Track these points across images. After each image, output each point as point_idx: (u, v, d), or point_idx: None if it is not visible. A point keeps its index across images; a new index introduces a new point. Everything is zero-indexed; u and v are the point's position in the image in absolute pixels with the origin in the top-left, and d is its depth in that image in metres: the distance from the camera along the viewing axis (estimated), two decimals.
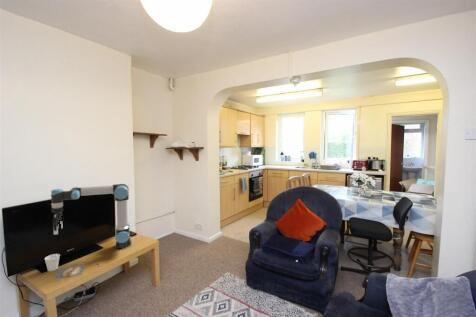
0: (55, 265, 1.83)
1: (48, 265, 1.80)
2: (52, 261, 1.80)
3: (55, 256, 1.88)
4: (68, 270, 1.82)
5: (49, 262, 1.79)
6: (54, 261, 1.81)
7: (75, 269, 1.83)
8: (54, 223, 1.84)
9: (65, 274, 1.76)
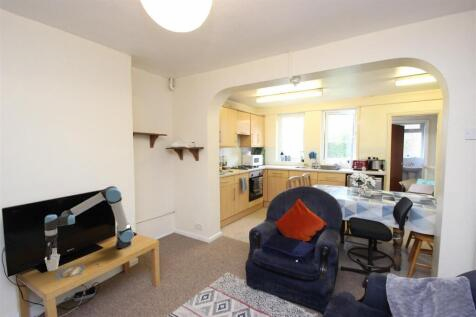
0: (55, 265, 1.83)
1: (48, 265, 1.80)
2: (52, 261, 1.80)
3: (55, 256, 1.88)
4: (68, 270, 1.82)
5: None
6: (54, 261, 1.81)
7: (75, 269, 1.83)
8: (47, 252, 1.74)
9: (65, 274, 1.76)
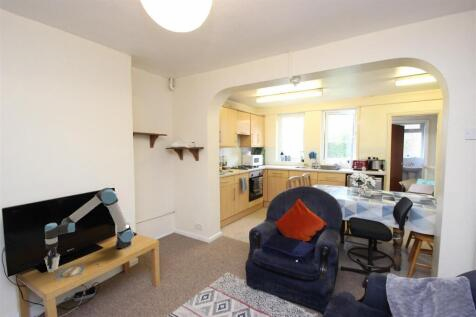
0: (55, 265, 1.83)
1: None
2: None
3: None
4: (68, 270, 1.82)
5: None
6: (54, 261, 1.81)
7: (75, 269, 1.83)
8: (49, 261, 1.77)
9: (65, 274, 1.76)
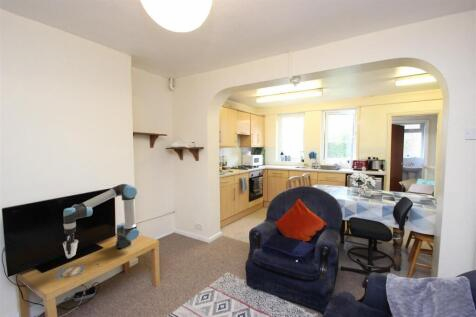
0: (73, 251, 1.78)
1: None
2: (71, 246, 1.75)
3: None
4: (68, 270, 1.82)
5: None
6: (73, 246, 1.77)
7: (75, 269, 1.83)
8: (68, 247, 1.72)
9: (65, 274, 1.76)
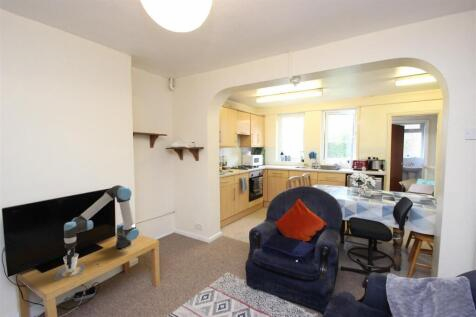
0: (74, 265, 1.79)
1: (67, 265, 1.76)
2: None
3: None
4: None
5: None
6: (73, 260, 1.77)
7: (75, 269, 1.83)
8: (68, 261, 1.73)
9: (65, 274, 1.76)
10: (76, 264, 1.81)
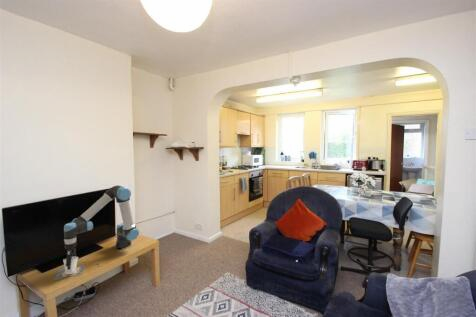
0: (73, 267, 1.76)
1: (66, 267, 1.74)
2: (71, 262, 1.75)
3: (73, 259, 1.82)
4: None
5: None
6: (73, 262, 1.76)
7: None
8: (68, 261, 1.71)
9: (65, 274, 1.76)
10: (75, 267, 1.79)
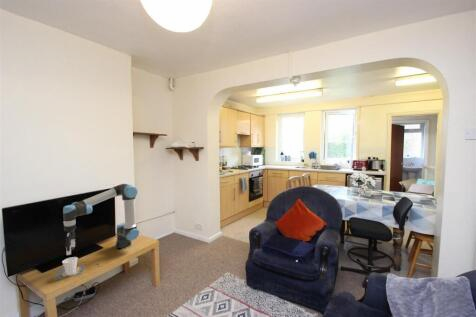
0: (73, 268, 1.76)
1: (66, 268, 1.73)
2: (70, 264, 1.74)
3: (73, 259, 1.81)
4: None
5: (67, 266, 1.73)
6: (72, 264, 1.75)
7: None
8: (67, 243, 1.70)
9: (65, 274, 1.76)
10: (75, 268, 1.78)
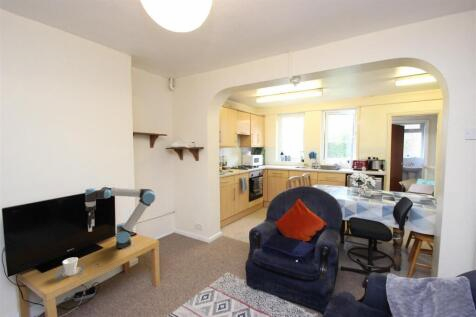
0: (73, 269, 1.76)
1: (66, 269, 1.73)
2: (70, 265, 1.73)
3: (73, 259, 1.81)
4: None
5: (67, 266, 1.73)
6: (72, 265, 1.74)
7: None
8: (89, 221, 1.94)
9: (65, 274, 1.76)
10: None
